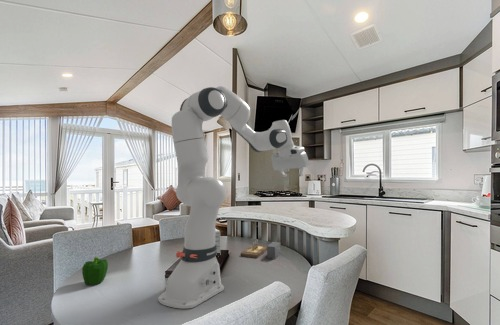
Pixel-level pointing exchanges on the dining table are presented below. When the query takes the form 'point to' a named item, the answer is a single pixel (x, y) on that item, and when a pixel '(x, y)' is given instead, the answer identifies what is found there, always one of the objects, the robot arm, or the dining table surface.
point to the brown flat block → (254, 250)
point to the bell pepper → (94, 271)
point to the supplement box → (217, 240)
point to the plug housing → (273, 250)
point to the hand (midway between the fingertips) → (292, 176)
